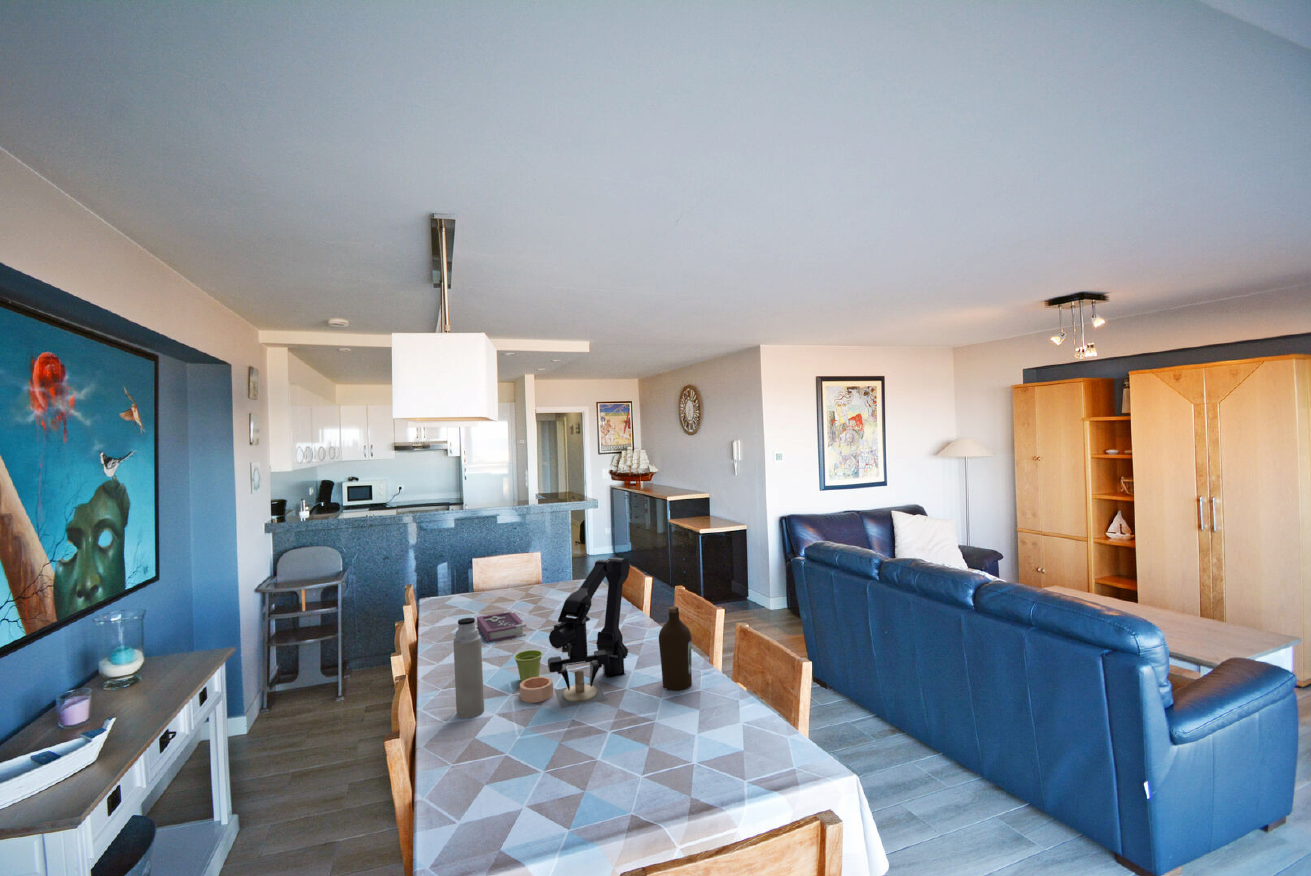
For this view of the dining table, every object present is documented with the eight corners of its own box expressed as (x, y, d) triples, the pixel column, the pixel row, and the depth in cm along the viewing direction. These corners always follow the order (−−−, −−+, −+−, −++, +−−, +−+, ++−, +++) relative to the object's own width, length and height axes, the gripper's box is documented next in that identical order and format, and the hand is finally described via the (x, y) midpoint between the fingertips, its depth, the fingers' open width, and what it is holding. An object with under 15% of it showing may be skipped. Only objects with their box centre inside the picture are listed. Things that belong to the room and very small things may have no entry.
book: (526, 636, 250) (526, 624, 250) (488, 643, 243) (487, 631, 243) (513, 621, 272) (512, 610, 273) (477, 627, 265) (476, 616, 265)
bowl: (550, 688, 192) (550, 674, 192) (554, 700, 183) (554, 686, 183) (519, 693, 190) (518, 679, 190) (521, 706, 180) (521, 691, 180)
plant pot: (537, 686, 195) (535, 660, 195) (510, 685, 197) (509, 659, 197) (547, 675, 204) (546, 650, 204) (522, 674, 206) (521, 649, 206)
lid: (593, 685, 192) (592, 663, 192) (599, 698, 182) (598, 675, 182) (561, 690, 189) (560, 668, 189) (566, 704, 179) (565, 681, 179)
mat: (597, 684, 194) (597, 682, 194) (606, 701, 180) (606, 699, 180) (555, 691, 190) (555, 689, 190) (560, 709, 176) (560, 707, 176)
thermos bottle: (467, 705, 183) (463, 614, 183) (489, 707, 180) (485, 616, 180) (450, 716, 175) (446, 622, 175) (473, 719, 172) (469, 623, 173)
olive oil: (661, 692, 185) (657, 613, 185) (660, 679, 195) (656, 604, 196) (695, 690, 185) (691, 611, 186) (692, 677, 196) (688, 602, 196)
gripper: (601, 627, 196) (603, 674, 196) (544, 634, 190) (547, 683, 190) (608, 637, 185) (611, 686, 185) (548, 645, 180) (551, 696, 180)
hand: (579, 688), depth 185 cm, fingers open, 7 cm apart
